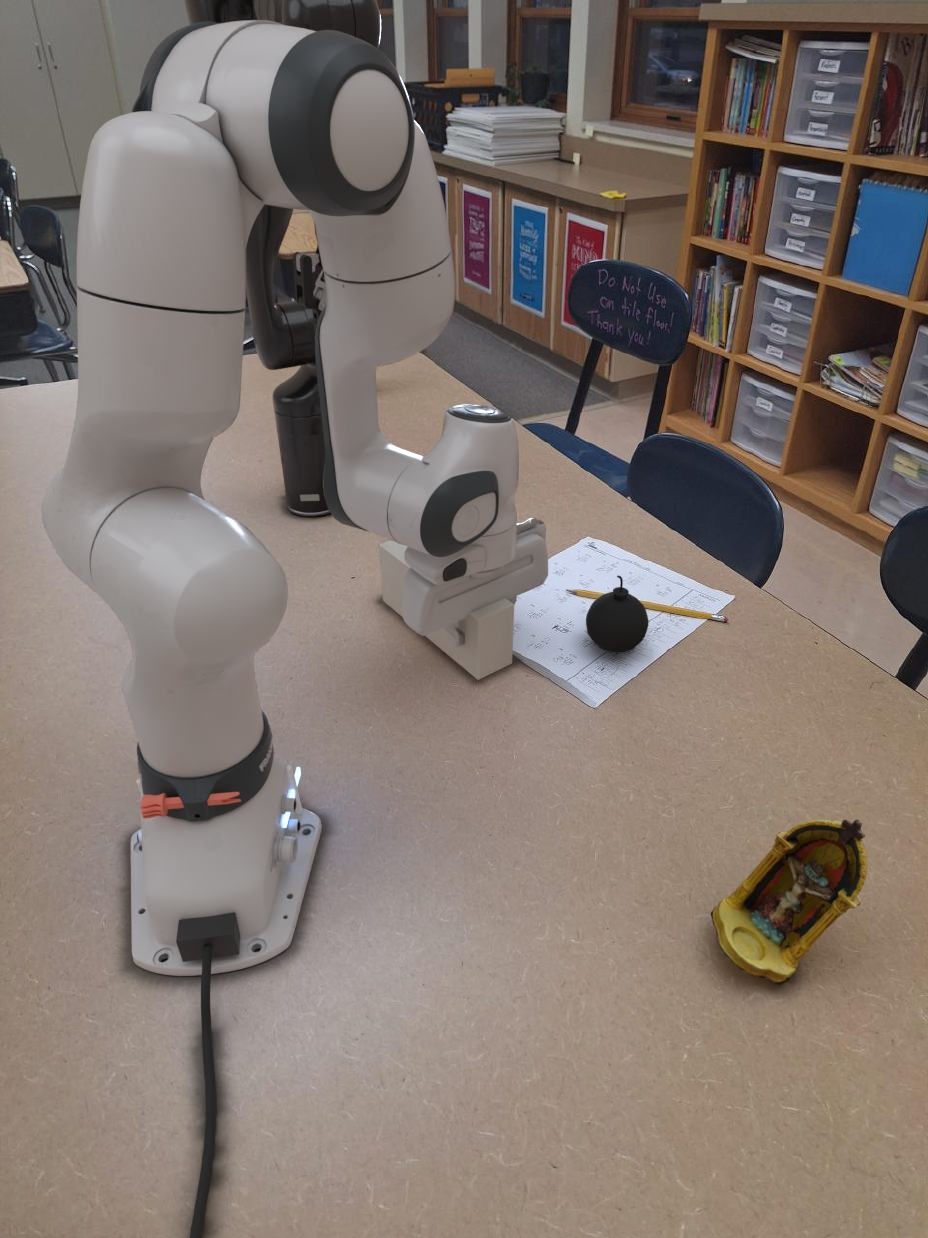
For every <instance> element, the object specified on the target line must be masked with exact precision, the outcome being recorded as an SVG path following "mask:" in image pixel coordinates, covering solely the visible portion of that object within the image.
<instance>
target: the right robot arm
mask: <svg viewBox="0 0 928 1238" xmlns="http://www.w3.org/2000/svg"><path fill="white" fill-rule="evenodd" d="M183 2H184V7H185V11H186V14H187V19H188V23H189V25H192V24H195V23H199V22H217V23H226V22H233V21H246V20H268V21H274V22H277V23H280V24H283V25H286V26H293V27H299V28H305V29H309V30H313V31H322V30H334V31H339V32H343V33H346V34H349V35H352V36H354V37H356V38H359V39H361V40H364V41H365V42H367V43H369V44H371V45H373V46H374V47H376V48H377V49H379V48H380V42H381V34H382V33H381V32H382V19H381V12H380V8H379V5H378V2H377V0H183ZM293 212H294V209H290V208H283V207H276V206H271V205H266V204H265V205H264V206H263V208H262V209H261V211H260V212H259V214H258V216H257V217H256V220H255V222H254V224H253V226H252V229H251V231H250V234H249V238H248V242H247V246H246V301H247V306H248V313H249V320H250V326H251V327H250V328H251V333H252V339H253V344H254V347H255V351H256V353H257V356H258V359H259V361H260V362H261V364H262V366H263V367H264V368H265V369H267V370H269V371H278V370H284V369H290V368H296V367H299V368H298V370H297V371H296V372H295V373H293V375H292V376H290V377H289V378H288V379H286V380H285V381H283V382H282V383H280V384H278V385H277V386H276V387H275V388H274V390H273V392H272V406H273V412H274V419H275V426H276V433H277V441H278V449H279V457H280V462H281V463H280V464H281V470H282V478H283V486H284V493H285V506H286V509H287V510H288V511H289V512H290V513H292V514H294V515H297V516H300V517H308V518H309V517H310V518H311V517H312V518H313V517H321V516H326V515H329V514H331V512H330V511H329V509H328V506H327V504H326V500H325V497H324V491H323V474H324V464H325V443H324V433H323V424H322V415H321V407H320V398H319V389H318V380H317V370H316V358H315V331H316V325H317V321H318V318H319V316H320V314H321V312H322V310H323V309H324V308H325V307H326V303H327V293H326V283H325V277H324V272H323V267H322V262H321V257H320V252H319V247H318V241H317V234H316V228H315V223H314V222H313V225H314V234H315V238H316V242H317V244H316V249H315V252H311V253H309V252H308V253H304V252H300V251H296V252H294V253H293V256H292V263H293V280H294V296H295V297H294V298H295V300H290V301H283V302H276V303H275V299H274V298H275V296H274V295H275V293H274V275H275V268H276V263H277V259H278V255H279V252H280V250H281V246H282V244H283V242H284V239H285V236H286V233H287V230H288V228H289V225H290V222H291V220H292V217H293ZM317 265H318V266H319V267H320V269H321V271H320V273H319V274H318V277H317V278H316V281H315V283H314V272H316V267H317ZM314 284H315V287H314Z"/></svg>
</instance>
